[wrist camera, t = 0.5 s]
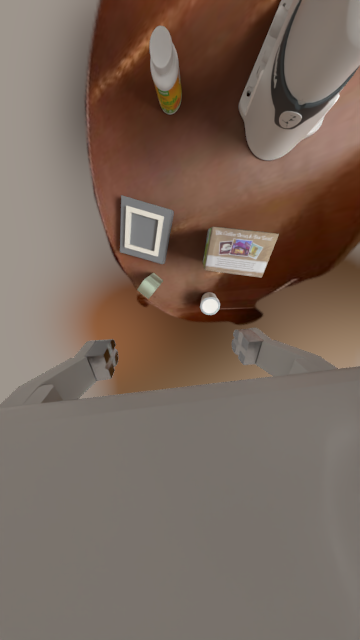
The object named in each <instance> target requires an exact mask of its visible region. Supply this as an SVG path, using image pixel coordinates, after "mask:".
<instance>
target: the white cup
mask: <svg viewBox="0 0 360 640" xmlns="http://www.w3.org/2000/svg"><path fill="white" fill-rule="evenodd" d="M200 308H201V311H202V312H203V313H204V314H207V315H213V314H215V313H217V312H218V310H219V309H220V303H219V300H218V299H217V297H216V296H215V294H214V293H211V292H208V293H205V294H204V295H203V296H202V299H201V304H200Z"/></svg>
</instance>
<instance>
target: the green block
mask: <svg viewBox="0 0 360 640" xmlns="http://www.w3.org/2000/svg"><path fill="white" fill-rule="evenodd" d="M162 282H163V280H162V279H160V278H159V277H158V276H157V275H156V274H154V273H152V274H151V275H149V276H148V277H147V278H145V279H144V281H143V282H142V283H141V285H140V286H139V288H138V289H137V290H138V291H139V292H141V293H142V294H143V295H144V296H146V297H147V298H148V299H149V298H150V296H151V295H152V294H153V293H154V292H155V291H156V289H157V288H158V287H159V286H160V284H161V283H162Z"/></svg>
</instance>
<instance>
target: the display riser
mask: <svg viewBox="0 0 360 640" xmlns="http://www.w3.org/2000/svg"><path fill="white" fill-rule="evenodd" d="M173 215H174V212H173V210H170V209H166V208H163V207H159V206H156V205H153V204H149V203H146V202H142V201H139V200H136V199H132V198H129V197H125V196H122V195H121V232H120V252H122V253H125V254H129V255H132V256H136V257H139V258H143V259H146V260H150V261H153V262H157V263H160V264H164V263H165V259H166V254H167V248H168V243H169V237H170V232H171V226H172V221H173Z"/></svg>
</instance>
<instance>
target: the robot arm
mask: <svg viewBox="0 0 360 640" xmlns="http://www.w3.org/2000/svg"><path fill="white" fill-rule="evenodd" d="M359 66H360V0H281V2H280V4H279V7H278V9H277V12H276V14H275V17H274V19H273V21H272V24H271V26H270V29H269V31H268V33H267V36H266V38H265V41H264V43H263V46H262V48H261V50H260V53H259V55H258V58H257V60H256V63H255V65H254V67H253V70H252V72H251V75H250V77H249V80H248V82H247V84H246V87H245V89H244V92H243V94H242V96H241V99H240V102H239V112H240V114H241V116H242V118H243V120H244V124H245V132H246V139H247V143H248V146H249V148H250V150H251V151H252V152H253V154H254V155H255V156H257V157H258V158H260V159H263V160H274V159H278V158H280V157H282V156H284V155H285V154H287V153H288V152H289V151H291V150H292V149H293V148H294V147H295V146H296V145H297V144H298V143H299V142H300V141H301V140H303V139H305V138H307V137H309V136H311V135H312V134H314V133H315V132H316V131H317V130H318V129H319V128H320V126H321V124H322V122H323V119H324V116H325V114H326V113H327V112H328V111H329V110H330V109H331V107H332V106H333V105H334V104H335V103H336V101H337V100H338V98H339V93H340V91H341V90H342V89H343V87H344V86H345V85H346V84H347V82H348V81H349V80H350V78H351V77H352V76H353V75H354V73H355V72H356V70H357V69H358V67H359ZM247 93H249V94H250V96H249V97H247ZM233 335H234V337H235V338H234V339H233V340H232V349H233V351H234V353H235V354H237V355H239V357H238V358H239V360H240V361H241V363H242V364H243V365H248V364H256V365H257V366H259V367H260V368H262V369H263V370H265V371H266V372H268V373H269V374H271V375H273V377H265V378H256V379H248V380H239V381H230V382H221V383H213V384H205V385H196V386H187V387H180V388H170V389H162V390H153V391H145V392H137V393H127V394H119V395H110V396H102V397H93V398H85V399H79V398H80V397H81V396H82V395H83V394H84V393H85V392H86V391H87V390H88V389H89V388H90V387H91V386H92V385H93V384H94V383H95V382H96V381H98V380H106V379H111V378H112V376H113V373H114V371H115V370H114V367H115V366H116V365H117V363H118V351H117V350H116V349H115V346H116V344H115V341H114V340H113V339H112V340H97V341H96V340H95V341H88V342H86V343H85V345H84V346H83V347H82V348H81V349H80V351H79V352H78V353H77V354H76V356H75V357H74V358H70V359H68V360H67V361H65V362H63V363H61V364H59V365H57V366H56V367H54V368H52V369H50V370H49V371H47V372H45V373H43V374H41V375H39V376H38V377H36V378H34V379H32V380H31V381H28V382H27V383H25V384H23V385H21V386H19V387H18V388H17V389H16V390H15V391H14V392H13V393H12V394H11V395H10V396H9V397H8V398H7V399H5V401H3V402H2V403H1V404H0V640H360V366H359V367H350V368H341V369H338V368H336V367H335V366H333V365H332V364H330V363H329V362H327V361H326V360H324V359H323V358H322V357H320V356H318V355H315V354H312V353H309V352H307V351H304V350H301V349H298V348H295V347H293V346H290V345H287V344H284V343H281V342H279V341H276V340H271V339H270V338H269V337H268V336H267V335H265V334H264V333H263V332H262V331H260V330H259V329H258V328H249V329H240V330H235V331H234V334H233Z"/></svg>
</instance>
